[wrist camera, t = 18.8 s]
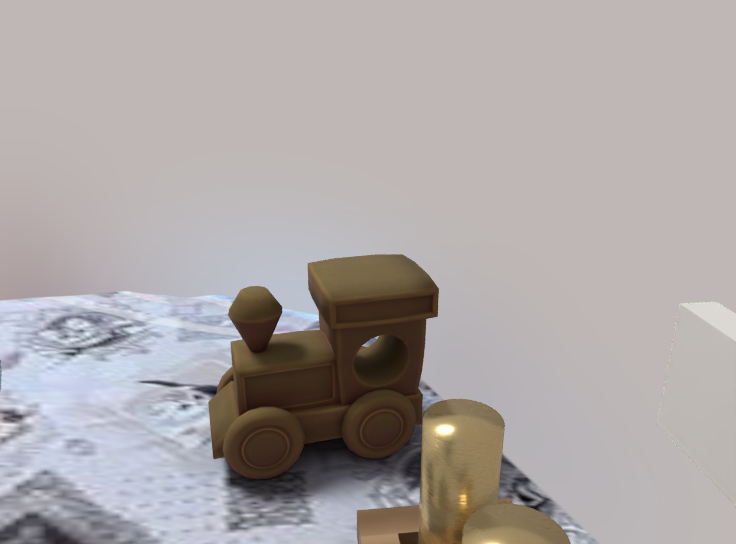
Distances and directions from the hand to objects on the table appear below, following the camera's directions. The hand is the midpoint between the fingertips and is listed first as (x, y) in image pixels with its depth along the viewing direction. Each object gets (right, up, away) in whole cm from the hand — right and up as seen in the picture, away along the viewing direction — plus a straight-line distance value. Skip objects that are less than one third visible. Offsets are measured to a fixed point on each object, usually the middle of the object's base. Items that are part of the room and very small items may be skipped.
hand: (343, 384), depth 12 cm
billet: (+6, -20, +32) cm, 38 cm away
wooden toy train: (-4, -14, +49) cm, 51 cm away
